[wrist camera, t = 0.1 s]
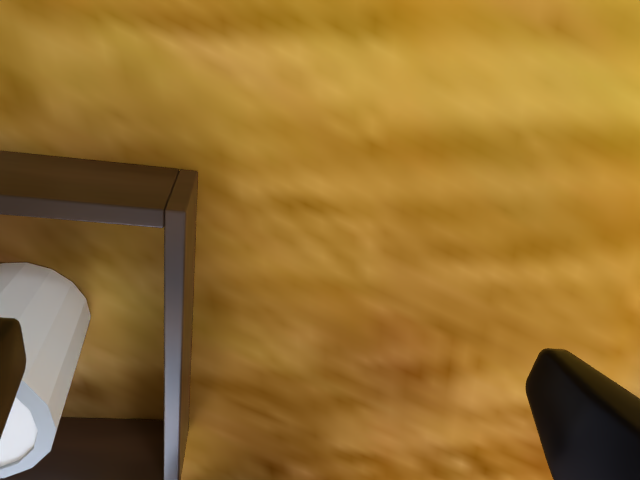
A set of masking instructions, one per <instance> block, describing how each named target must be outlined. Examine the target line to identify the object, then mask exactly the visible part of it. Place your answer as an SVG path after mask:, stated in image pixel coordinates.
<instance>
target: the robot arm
mask: <svg viewBox="0 0 640 480" xmlns="http://www.w3.org/2000/svg"><path fill="white" fill-rule="evenodd" d="M25 368H26V353H25V347H24V341H23V335H22V329H21V325H20V323H19V321H18V320H17V319H15V318H3V317H0V439H1V436H2V433H3V430H4V428H5V425H6V422H7V419H8V416H9V414H10V411H11V408H12V405H13V403H14V400H15V397H16V394H17V391H18V389H19V386H20V383H21V380H22V378H23V375H24V372H25ZM526 394H527V398H528V401H529V404H530V407H531V411H532V414H533V417H534V421H535V424H536V427H537V430H538V434H539V437H540V440H541V444H542V447H543V450H544V453H545V457H546V460H547V463H548V466H549V469H550V471H551V474H552V477H553V479H554V480H640V399H639V398H638V397H636V396H635V395H633V394H632V393H630V392H629V391H627V390H626V389H624V388H623V387H621V386H620V385H618V384H617V383H615V382H614V381H612V380H611V379H609V378H608V377H606V376H605V375H603V374H602V373H600V372H599V371H597V370H596V369H594V368H593V367H591V366H590V365H588V364H587V363H585V362H584V361H582V360H581V359H579V358H578V357H576V356H575V355H573V354H572V353H570V352H569V351H567V350H564V349H549V348H547V349H543V350H542V351H541V352H540V353H539V355H538V357H537V359H536V361H535V363H534V365H533V367H532V370H531V372H530V374H529V376H528V378H527V381H526Z"/></svg>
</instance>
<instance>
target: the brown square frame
mask: <svg viewBox="0 0 640 480" xmlns="http://www.w3.org/2000/svg"><path fill="white" fill-rule="evenodd" d="M197 188H198V172H197V171H192V170H182V169H181V170H180V171H179V169H173V168H164V167H154V166H144V165H134V164H125V163H115V162H105V161H95V160H86V159H76V158H66V157H57V156H47V155H37V154H27V153H18V152H8V151H0V214H5V215H16V216H28V217H40V218H52V219H63V220H75V221H87V222H98V223H110V224H122V225H134V226H145V227H157V228H163V227H164V420H136V419H103V418H70V417H61V418H60V421H59V425H58V428H57V431H56V435H55V438H54V441H53V444H52V448H51V451H50V452H49V453H48V454H47V455H46V456H45V457H43V458H42V459H41V460H40V461H39V462H38V463H37V464H36V465H35V466H34V467H33V468H31V469H28V470H25V471H22V472H20V473H17V474H14V475H11V476H8V477H6V478H0V480H181V474H182V468H183V461H184V455H185V449H186V442H187V436H188V427H189V401H190V374H191V348H192V321H193V294H194V268H195V241H196V215H197Z"/></svg>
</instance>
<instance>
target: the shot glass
mask: <svg viewBox="0 0 640 480" xmlns="http://www.w3.org/2000/svg"><path fill="white" fill-rule="evenodd" d="M0 317H3V318H15V319H17V320H18V321H19V323H20V325H21V329H22V335H23V341H24V347H25V353H26V368H25V372H24V375H23V378H22V380H21V383H20V386H19V389H18V391H17V394H16V397H15V400H14V403H13V405H12V408H11V411H10V414H9V416H8V419H7V422H6V425H5V428H4V430H3V433H2V436H1V439H0V478H6V477H8V476H11V475H14V474H17V473H20V472H22V471H25V470H28V469H31V468H33V467H34V466H35V465H36V464H37V463H38V462H39V461H40V460H41V459H42V458H43V457H45V456H46V455H47V454H48V453H49V452H50V451H51V448H52V444H53V441H54V438H55V435H56V431H57V428H58V425H59V421H60V418H61V415H62V411H63V408H64V405H65V402H66V398H67V395H68V392H69V388H70V385H71V382H72V379H73V375H74V372H75V369H76V365H77V362H78V359H79V356H80V352H81V349H82V346H83V342H84V339H85V336H86V332H87V329H88V325H89V321H90V318H91V315H90V311H89V308H88V304H87V300H86V298H85V297H84V295H83V294H82V293H81V292H80V291H79V289H78V288H77V287H76V286H75V284H74V283H73V282H72V281H70V280H68V279H67V278H65V277H64V276H62V275H60V274H59V273H57V272H56V271H54V270H52V269H49V268H46V267H42V266H38V265H34V264H31V263H27V262H26V263H2V264H0Z"/></svg>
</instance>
